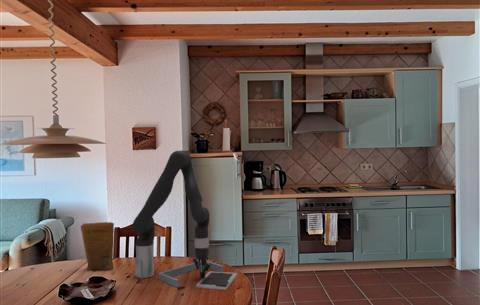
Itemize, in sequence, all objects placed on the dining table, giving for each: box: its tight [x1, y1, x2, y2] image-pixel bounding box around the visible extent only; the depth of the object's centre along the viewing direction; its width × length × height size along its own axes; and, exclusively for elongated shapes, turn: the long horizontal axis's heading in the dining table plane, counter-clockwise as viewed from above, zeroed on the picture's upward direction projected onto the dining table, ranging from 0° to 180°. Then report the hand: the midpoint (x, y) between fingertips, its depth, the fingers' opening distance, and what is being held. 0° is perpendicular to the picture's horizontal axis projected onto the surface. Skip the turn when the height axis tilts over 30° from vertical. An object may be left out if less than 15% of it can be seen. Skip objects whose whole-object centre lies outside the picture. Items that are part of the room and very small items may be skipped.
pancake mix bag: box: [80, 221, 115, 272], centre depth 224 cm, size 7×19×28 cm, turn 83°
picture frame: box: [195, 270, 238, 291], centre depth 201 cm, size 16×3×21 cm
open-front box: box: [158, 261, 224, 288], centre depth 210 cm, size 31×17×4 cm, turn 134°
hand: (202, 278), depth 203 cm, fingers closed
